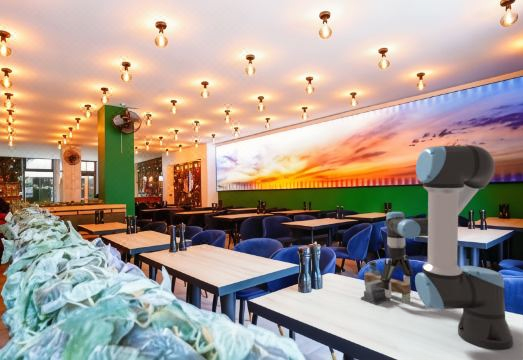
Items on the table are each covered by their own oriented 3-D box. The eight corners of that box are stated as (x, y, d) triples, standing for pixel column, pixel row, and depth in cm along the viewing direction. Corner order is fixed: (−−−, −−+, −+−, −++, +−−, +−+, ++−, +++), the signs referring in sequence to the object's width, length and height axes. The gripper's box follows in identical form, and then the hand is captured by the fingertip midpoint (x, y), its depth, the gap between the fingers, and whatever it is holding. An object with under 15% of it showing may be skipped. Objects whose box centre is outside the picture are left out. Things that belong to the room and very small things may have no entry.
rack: (410, 302, 140) (410, 293, 140) (406, 303, 138) (405, 294, 138) (369, 288, 159) (369, 280, 159) (365, 290, 157) (365, 282, 157)
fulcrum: (390, 299, 143) (389, 282, 144) (375, 304, 138) (374, 286, 138) (375, 294, 150) (374, 277, 150) (360, 299, 145) (360, 281, 145)
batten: (410, 292, 140) (410, 283, 140) (405, 294, 138) (404, 285, 138) (369, 280, 159) (369, 272, 159) (364, 282, 157) (364, 274, 157)
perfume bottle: (364, 284, 165) (363, 261, 165) (374, 283, 167) (373, 260, 167) (372, 288, 159) (371, 264, 159) (382, 286, 161) (381, 263, 161)
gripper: (405, 241, 153) (407, 285, 153) (371, 248, 140) (372, 297, 140) (420, 244, 147) (421, 290, 147) (385, 251, 134) (387, 302, 134)
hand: (397, 293), depth 143 cm, fingers open, 13 cm apart
